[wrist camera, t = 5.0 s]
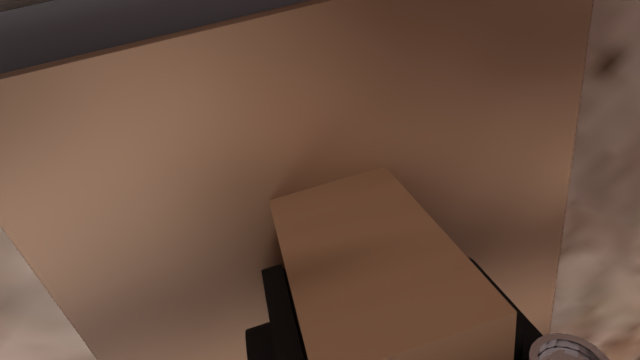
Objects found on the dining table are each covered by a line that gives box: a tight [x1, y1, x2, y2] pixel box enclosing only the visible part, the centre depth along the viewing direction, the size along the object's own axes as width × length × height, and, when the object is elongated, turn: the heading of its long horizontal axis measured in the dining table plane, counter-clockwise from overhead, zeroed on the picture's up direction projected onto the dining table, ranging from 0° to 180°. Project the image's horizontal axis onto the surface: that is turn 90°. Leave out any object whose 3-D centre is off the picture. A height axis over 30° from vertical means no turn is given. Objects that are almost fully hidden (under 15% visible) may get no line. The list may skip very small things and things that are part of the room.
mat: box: [0, 0, 310, 74], centre depth 13 cm, size 15×15×1 cm
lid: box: [0, 0, 593, 360], centre depth 10 cm, size 14×14×6 cm
